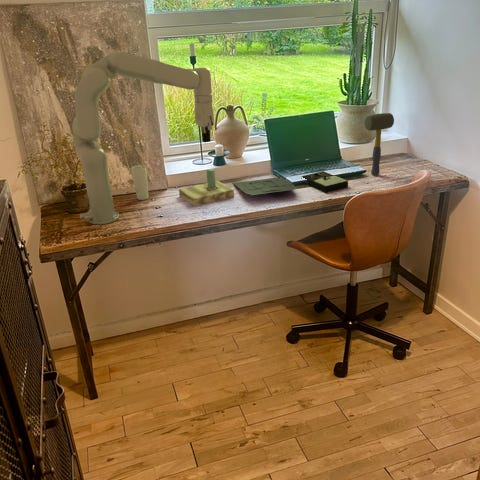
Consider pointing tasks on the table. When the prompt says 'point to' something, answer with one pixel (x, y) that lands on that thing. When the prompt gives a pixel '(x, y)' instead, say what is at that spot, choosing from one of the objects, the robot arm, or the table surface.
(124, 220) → the table surface
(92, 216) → the robot arm
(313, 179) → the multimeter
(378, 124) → the rubber mallet
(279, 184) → the dark green panel
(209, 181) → the dowel
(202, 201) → the olive green slab
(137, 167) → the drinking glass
